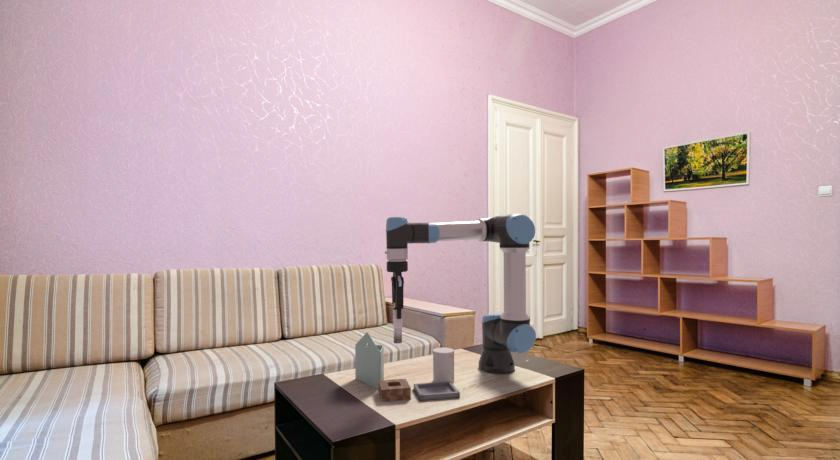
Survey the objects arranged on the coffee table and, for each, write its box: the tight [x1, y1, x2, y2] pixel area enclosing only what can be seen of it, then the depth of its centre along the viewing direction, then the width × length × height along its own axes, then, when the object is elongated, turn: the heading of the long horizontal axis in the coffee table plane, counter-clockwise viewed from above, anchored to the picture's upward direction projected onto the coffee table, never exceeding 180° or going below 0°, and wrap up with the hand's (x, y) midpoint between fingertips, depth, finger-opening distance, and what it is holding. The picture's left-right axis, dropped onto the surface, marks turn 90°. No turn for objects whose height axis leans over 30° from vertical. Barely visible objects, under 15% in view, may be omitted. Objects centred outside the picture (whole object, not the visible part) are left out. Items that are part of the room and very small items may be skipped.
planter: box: [354, 331, 385, 390], centre depth 171 cm, size 16×8×20 cm, turn 41°
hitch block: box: [377, 378, 412, 403], centre depth 156 cm, size 10×10×4 cm
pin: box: [392, 302, 403, 344], centre depth 157 cm, size 3×3×14 cm
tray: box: [413, 381, 461, 402], centre depth 158 cm, size 14×12×2 cm
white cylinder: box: [432, 347, 455, 384], centre depth 171 cm, size 8×8×12 cm
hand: (397, 326), depth 157 cm, fingers closed on pin, 3 cm apart
